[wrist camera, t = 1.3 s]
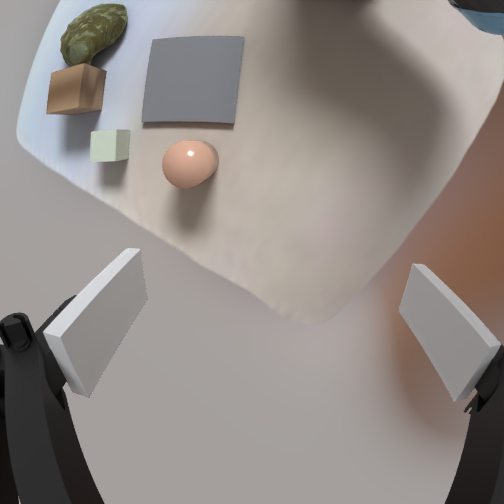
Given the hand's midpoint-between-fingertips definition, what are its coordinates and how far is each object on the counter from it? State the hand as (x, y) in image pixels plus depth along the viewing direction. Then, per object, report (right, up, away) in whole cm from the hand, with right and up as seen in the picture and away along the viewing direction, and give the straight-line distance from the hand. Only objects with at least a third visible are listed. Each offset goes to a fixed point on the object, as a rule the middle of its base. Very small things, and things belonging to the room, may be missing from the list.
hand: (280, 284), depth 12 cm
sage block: (-20, +16, +20) cm, 32 cm away
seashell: (-23, +37, +13) cm, 45 cm away
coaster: (-9, +23, +17) cm, 30 cm away
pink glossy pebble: (-8, +13, +21) cm, 26 cm away
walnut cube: (-25, +24, +17) cm, 39 cm away
